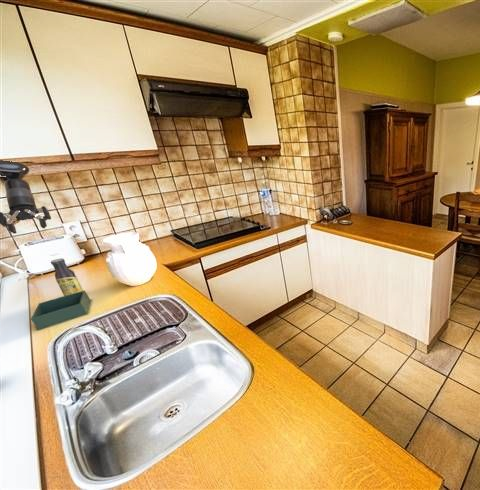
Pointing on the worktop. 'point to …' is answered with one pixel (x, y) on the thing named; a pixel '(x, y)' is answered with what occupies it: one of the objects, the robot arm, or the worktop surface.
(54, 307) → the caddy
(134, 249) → the pitcher
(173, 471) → the worktop surface
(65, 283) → the sauce bottle
